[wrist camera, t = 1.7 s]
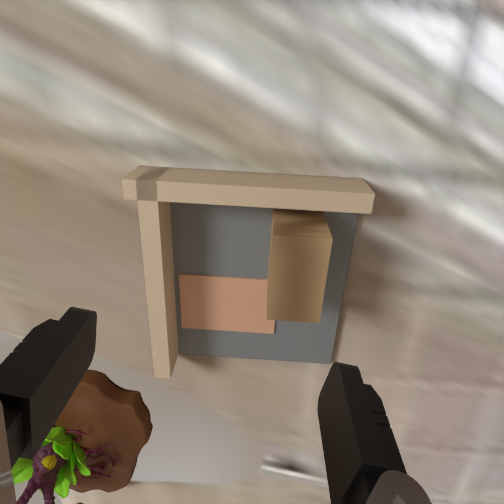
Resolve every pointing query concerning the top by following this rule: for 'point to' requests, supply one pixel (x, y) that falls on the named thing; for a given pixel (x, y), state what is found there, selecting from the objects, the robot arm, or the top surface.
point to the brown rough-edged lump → (89, 442)
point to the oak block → (297, 265)
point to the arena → (234, 260)
